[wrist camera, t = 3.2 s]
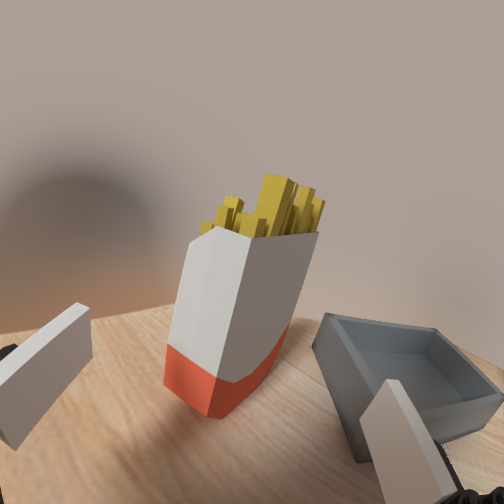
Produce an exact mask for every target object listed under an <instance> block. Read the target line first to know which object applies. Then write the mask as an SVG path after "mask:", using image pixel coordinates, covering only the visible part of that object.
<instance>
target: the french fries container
mask: <svg viewBox="0 0 504 504" xmlns="http://www.w3.org/2000/svg"><path fill="white" fill-rule="evenodd" d="M298 186H299V185H298V184H297V183H296V182H293V181H291V180H290V179H289V178H286V177H282V176H278V175H273V174H269V173H266V174H265V177H264V181H263V185H262V188H261V192H260V196H259V199H258V203H257V207H256V210H255V214H248V213H241V212H242V209H243V205H244V202H243V201H242V200H241V199H240V198H235V197H230V196H226V198H225V202H224V205H223V206H222V205H221V206H218V210H217V214H216V219H215V221H202V226H201V232H200V237H199V238H197V239H195V240H194V241H193V242H191V243H190V244H189V247H188V251H187V255H186V259H185V263H184V268H183V272H182V276H181V281H180V285H179V290H178V294H177V299H176V303H175V308H174V313H173V318H172V323H171V328H170V333H169V338H168V344H167V353H166V362H165V372H164V384H163V385H165V386H166V387H167V388H168V389H170V390H171V391H172V392H173V393H175V394H176V395H177V396H178V397H180V398H181V399H182V400H184V401H185V402H186V403H188V404H189V405H190V406H192V407H193V408H194V409H196V410H197V411H198V412H200V413H201V414H203V415H204V416H205V417H213V418H224V417H225V416H226V415H227V414H228V413H229V412H231V411H232V410H233V409H234V408H235V407H236V406H237V405H239V404H240V403H241V402H242V401H243V400H244V399H245V398H246V397H247V396H248V395H250V394H251V393H252V392H253V391H254V390H255V389H256V388H257V387H258V385H259V384H260V382H261V381H262V379H263V378H264V376H265V375H266V373H267V372H268V370H269V369H270V367H271V366H272V364H273V362H274V361H275V359H276V358H277V356H278V353H279V351H280V348H281V345H282V343H283V340H284V337H285V335H286V332H287V329H288V326H289V323H290V321H291V318H292V315H293V312H294V309H295V306H296V303H297V301H298V298H299V295H300V292H301V289H302V285H303V282H304V279H305V276H306V273H307V270H308V267H309V264H310V261H311V258H312V254H313V251H314V247H315V244H316V241H317V238H318V235H319V232H317V231H316V229H317V226H318V223H319V220H320V216H321V214H322V210H323V207H324V204H325V201H324V200H322V199H318V198H315V197H314V193H315V190H314V189H312V188H310V187H306V186H302V185H301V186H300V190H299V193H298V196H297V199H296V202H295V205H293V202H294V199H295V196H296V192H297V189H298Z"/></svg>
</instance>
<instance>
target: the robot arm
mask: <svg viewBox="0 0 504 504" xmlns="http://www.w3.org/2000/svg"><path fill="white" fill-rule="evenodd" d="M92 358H93V353H92V340H91V320H90V308H88V307H86V306H84V305H82V304H80V303H75V304H74V305H72V306H71V307H69V308H68V309H67V310H65V311H64V312H63V313H61V314H60V315H59V316H57V317H56V318H55V319H53V320H52V321H51V322H49V323H48V324H47V325H45V326H44V327H43V328H41V329H40V330H39V331H37V332H36V333H35V334H34V335H32V336H31V337H30V338H28V339H27V340H26V341H25V342H23V343H22V344H21V345H20V346H17V345H16V344H12V345H9V346H6V347H3V348H2V349H1V350H0V439H1V440H2V441H3V442H4V443H6V444H7V445H8V446H9V447H10V448H12V449H13V450H14V451H16V450H17V449H18V447H19V446H20V445H21V443H22V442H23V441H24V440H25V438H26V437H27V436H28V434H29V433H30V432H31V431H32V429H33V428H34V427H35V425H36V424H37V423H38V422H39V420H40V419H41V418H42V417H43V415H44V414H45V413H46V412H47V410H48V409H49V408H50V407H51V406H52V404H53V403H54V402H55V401H56V400H57V398H58V397H59V396H60V395H61V394H62V392H63V391H64V390H65V389H66V388H67V386H68V385H69V384H70V383H71V382H72V381H73V379H74V378H75V377H76V376H77V375H78V374H79V373H80V371H81V370H82V369H83V368H84V367H85V366H86V365H87V363H88V362H89V361H90V360H91V359H92ZM359 421H360V424H361V427H362V429H363V432H364V435H365V438H366V441H367V444H368V448H369V451H370V454H371V457H372V460H373V463H374V466H375V470H376V473H377V476H378V479H379V483H380V486H381V489H382V493H383V496H384V500H385V503H386V504H504V487H501V486H500V487H497V488H496V489H495V490H493V491H492V492H491V493H490V494H487V495H479V494H478V493H477V492H476V491H474V490H471V489H467V490H464V488H463V487H462V485H461V483H460V481H459V479H458V477H457V475H456V473H455V471H454V469H453V467H452V465H451V464H450V461H449V459H448V457H446V456H447V455H446V453H445V451H444V449H443V447H442V446H441V445H440V444H439V443H438V442H437V441H436V440H435V439H433V440H432V438H431V436H430V434H429V432H428V430H427V429H426V427H425V425H424V423H423V421H422V419H421V418H420V416H419V414H418V412H417V410H416V409H415V407H414V405H413V403H412V402H411V400H410V398H409V397H408V395H407V393H406V391H405V390H404V388H403V386H402V385H401V383H400V381H399V380H392V379H386V380H385V382H384V383H383V385H382V386H381V388H380V390H379V391H378V393H377V394H376V396H375V397H374V399H373V400H372V402H371V403H370V405H369V406H368V408H367V409H366V411H365V412H364V413H363V415H362V416H361V418H360V419H359ZM0 504H4V502H3V498H2V493H1V488H0Z"/></svg>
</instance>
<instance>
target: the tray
mask: <svg viewBox="0 0 504 504" xmlns="http://www.w3.org/2000/svg"><path fill="white" fill-rule="evenodd" d="M312 349H313V351H314V354H315V356H316V359H317V361H318V364H319V366H320V369H321V371H322V374H323V376H324V379H325V381H326V384H327V386H328V389H329V392H330V394H331V397H332V399H333V402H334V404H335V407H336V409H337V412H338V415H339V417H340V420H341V422H342V425H343V428H344V430H345V433H346V435H347V438H348V441H349V443H350V446H351V449H352V451H353V454H354V457H355V459H356V462H357V463H361V462H367V461H373V460H372V457H371V454H370V451H369V448H368V444H367V441H366V438H365V435H364V432H363V429H362V427H361V424H360V421H359V419H360V418H361V416H362V415H363V413H364V412H365V411H366V409H367V408H368V406H369V405H370V403H371V402H372V400H373V399H374V397H375V396H376V394H377V393H378V391H379V390H380V388H381V386H382V385H383V383H384V382H385V380H386V379H392V380H399V381H400V383H401V385H402V386H403V388H404V390H405V391H406V393H407V395H408V397H409V398H410V400H411V402H412V403H413V405H414V407H415V409H416V410H417V412H418V414H419V416H420V418H421V419H422V421H423V423H424V425H425V427H426V429H427V430H428V432H429V434H430V436H431V438H432V440H433V439H435V440H436V441H437V442H438V443H439V444H443V443H446V442H449V441H452V440H455V439H458V438H460V437H463V436H466V435H468V434H471V433H473V432H476V431H478V430H480V429H483V428H484V426H485V425H486V424H487V423H488V421H489V420H490V419H491V418H492V416H493V415H494V414H495V412H496V411H497V410H498V408H499V407H500V406H501V404H502V403H503V401H504V394H503V393H502V392H501V391H500V390H499V389H498V388H497V387H496V386H495V385H494V384H493V382H492V381H491V380H490V379H489V378H488V377H487V376H486V375H485V374H484V373H483V372H482V371H480V370H479V369H478V368H477V367H476V366H475V365H474V364H473V363H472V362H471V361H470V360H469V359H468V358H467V357H466V356H465V355H464V354H463V353H462V352H461V351H460V350H459V349H457V348H456V347H455V346H454V345H453V344H452V343H451V342H450V341H449V340H448V339H447V338H445V337H444V336H443V335H442V334H441V333H440V332H439V331H438V330H437V329H433V328H425V327H417V326H409V325H401V324H394V323H387V322H380V321H373V320H367V319H361V318H354V317H348V316H342V315H336V314H330V313H325V314H324V317H323V320H322V322H321V325H320V327H319V330H318V332H317V335H316V337H315V339H314V342H313V344H312Z"/></svg>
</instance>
